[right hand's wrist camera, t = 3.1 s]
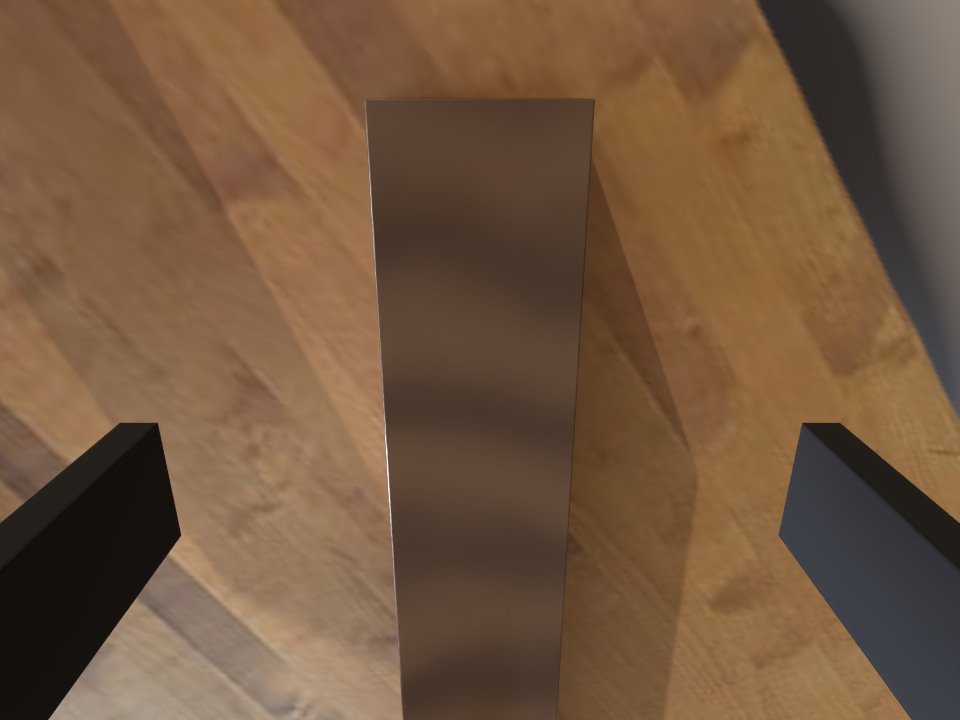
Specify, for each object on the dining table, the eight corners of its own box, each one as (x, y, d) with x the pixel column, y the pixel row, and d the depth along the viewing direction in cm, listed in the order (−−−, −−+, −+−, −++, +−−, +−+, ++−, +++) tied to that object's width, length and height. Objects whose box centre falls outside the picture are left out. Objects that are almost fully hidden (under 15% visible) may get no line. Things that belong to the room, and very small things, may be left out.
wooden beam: (384, 102, 34) (363, 98, 28) (574, 102, 34) (595, 98, 28) (425, 894, 59) (418, 982, 53) (534, 894, 59) (540, 982, 53)
